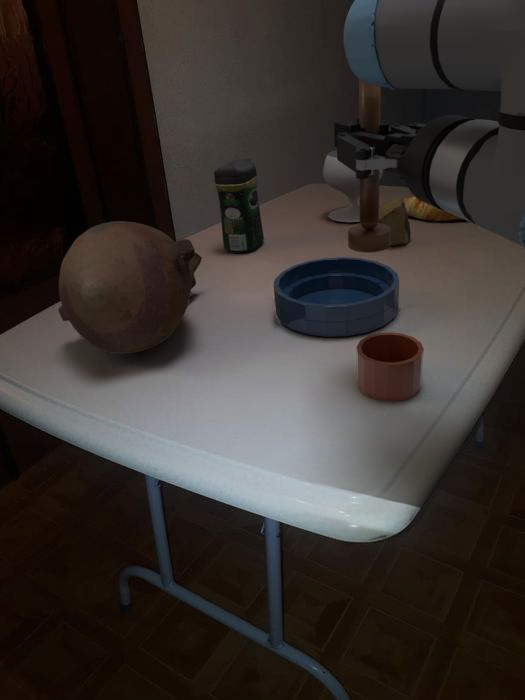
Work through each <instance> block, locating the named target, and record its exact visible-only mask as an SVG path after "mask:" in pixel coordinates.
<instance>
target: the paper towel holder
mask: <svg viewBox="0 0 525 700" xmlns="http://www.w3.org/2000/svg"><path fill="white" fill-rule="evenodd" d="M358 86H359V87H358V111H359V112H358V115H359V116H358V117H359V118H358V119H359V124H361V127H362V128H364V132H367V133H372V134H377V135H380V122H381V86H373V85H369V84H366V83H364V82H363V81H361V80H360V79H359V78H358ZM379 206H380V180H379V169H375V174H374V175H369V178H366V179H364V180H360V195H359V207H360V221H359V223H357V224H354V225H352V226H350V227H349V228H348V230H347V246H348V248H349V250H352V251H354V252H359V253H378V252H382V251H386V250H387V249H389V248H390V247H391V246H390V244H391V228H390V227H389V226H388V225H385V224H380V223H378V222H379Z"/></svg>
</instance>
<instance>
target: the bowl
mask: <svg viewBox="0 0 525 700" xmlns="http://www.w3.org/2000/svg"><path fill="white" fill-rule="evenodd" d="M273 295H274V306H275V307H274V308H275V315H276V316H277V319H278V320H279V322H280V323H281V324H282V325H284V326H285V327H286V328H289V329H290V330H293V331H295V332H298V333H301V334H304V335H308V336H317V337H324V338H328V337H331V338H332V337H333V338H334V337H335V338H336V337H350V336H351V337H352V336H357V335H362V334H367V333H370V332H372V331H375V330H377V329H379V328H383V327H384V326H386V325H387V324H388V323H390V322H391V321H392V320H394V319H395V317H396V316H397V313H398V311H399V305H400V304H399V302H400V301H399V299H400V298H399V297H400V278H399V275H398V272H396V271H395V270H394V269H393V268H392V267H390V266H389V265H386V264H384V263H381V262H379V261H376V260H373V259H372V260H371V259H366V258H361V257H347V256H341V257H340V256H339V257H338V256H337V257H325V258H319V259H311V260H307V261H304V262H301V263H298V264H295V265H292V266H290V267H288V268H287V269H285V270H283V271H281V272H280V273H279V274H278V275H277V276H276V277H275V278H274V283H273Z"/></svg>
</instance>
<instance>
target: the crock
mask: <svg viewBox="0 0 525 700" xmlns="http://www.w3.org/2000/svg"><path fill="white" fill-rule="evenodd" d="M355 351H356V355H355V357H356V385H357V388H358V389H359V391H360V392H361V393H362V394H364V395H365V396H367V397H369V398H371V399H374V400H377V401H383V402H399V401H403V400H404V401H405V400H407V399H410V398H413V397H414V396H415V395H417V394H418V393H419V392H420V390H421V388H422V384H423V369H424V352H425V349H424V346H423V344H422V342H421V341H420V340H419V339H417V338H415V337H414V336H411V335H408V334H405V333H401V332H391V331H390V332H388V331H387V332H377V333H373V334H369V335H367V336H365V337H363V338H362V339H361V340H359V342H358V343H357V345H356V350H355Z"/></svg>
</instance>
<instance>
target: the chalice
mask: <svg viewBox="0 0 525 700" xmlns="http://www.w3.org/2000/svg"><path fill="white" fill-rule="evenodd" d="M322 169H323V170H322V176H323V179H324V182H325V183H326V184H327V185H328V186H329V187H331V188H332V189H334V190H337V191H339V192H340V193H343V194H344V195H345V196H346V197H347V198H348V200H349V201H348V202H349V204H348V206H346V207H340V208H337V209H334V210H332V211H331V212H330V213H329V214H327V215H328V218H329V219H330V220H332V221H336V222H342V223H357V222H359V223H360V205H358V199H359V198H360V179H357V178H356V172H354V171H353V170H351V169H350V168H348V167H347V166H345V165H344V164H342V163H341V162H340V161H338V160H337V149H336V150H332V151H329V152H327V155H326V157H325V159H324V164H323V168H322ZM383 174H384V169H379V181H380V180H381V179H382V176H383Z"/></svg>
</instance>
